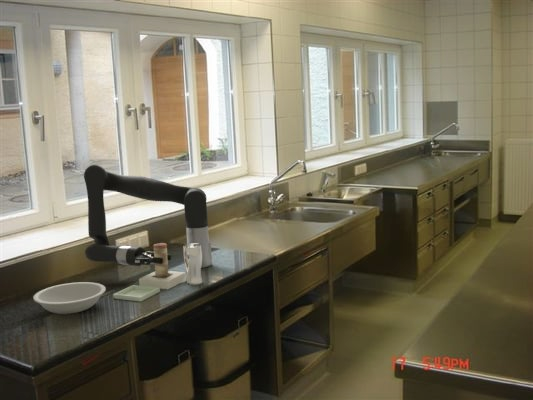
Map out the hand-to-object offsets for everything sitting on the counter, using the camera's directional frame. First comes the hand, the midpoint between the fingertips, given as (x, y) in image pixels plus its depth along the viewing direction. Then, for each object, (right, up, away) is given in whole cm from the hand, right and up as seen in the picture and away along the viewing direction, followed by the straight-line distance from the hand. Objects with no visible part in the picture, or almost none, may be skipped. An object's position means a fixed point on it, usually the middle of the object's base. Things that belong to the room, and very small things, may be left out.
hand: (166, 259), depth 242 cm
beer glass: (+10, -10, +3) cm, 15 cm away
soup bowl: (-29, -16, -24) cm, 41 cm away
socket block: (-2, -10, +3) cm, 11 cm away
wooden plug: (-2, -8, +2) cm, 9 cm away
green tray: (-9, -13, -11) cm, 19 cm away
